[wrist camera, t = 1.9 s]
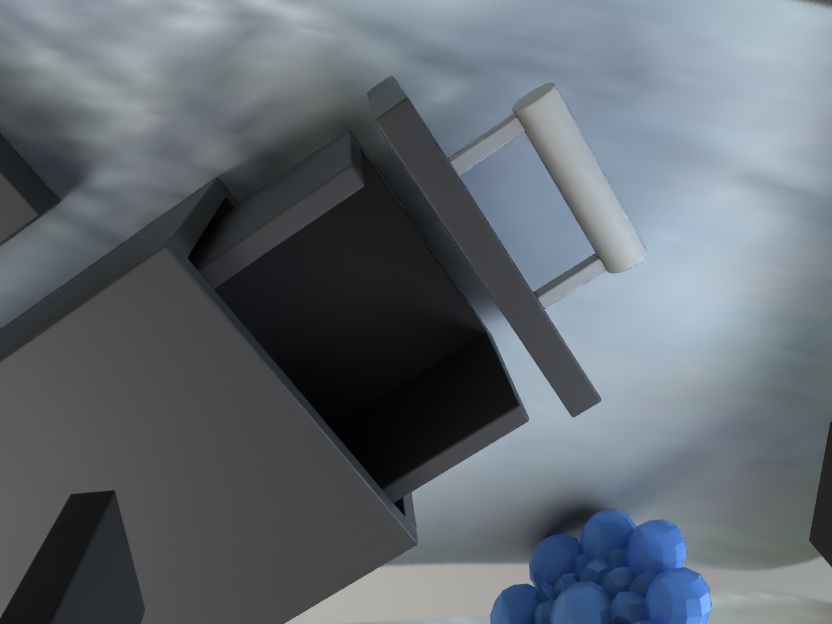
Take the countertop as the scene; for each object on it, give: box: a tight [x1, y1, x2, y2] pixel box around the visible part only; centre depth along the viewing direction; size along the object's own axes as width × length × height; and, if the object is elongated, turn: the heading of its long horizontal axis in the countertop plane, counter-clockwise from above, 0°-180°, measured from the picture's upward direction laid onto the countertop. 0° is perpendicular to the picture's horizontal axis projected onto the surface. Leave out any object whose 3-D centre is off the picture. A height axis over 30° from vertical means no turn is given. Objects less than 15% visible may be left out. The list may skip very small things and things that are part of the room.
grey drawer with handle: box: [188, 76, 646, 503], centre depth 28 cm, size 19×12×8 cm, turn 123°
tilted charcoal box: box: [0, 177, 418, 624], centre depth 30 cm, size 16×14×10 cm
